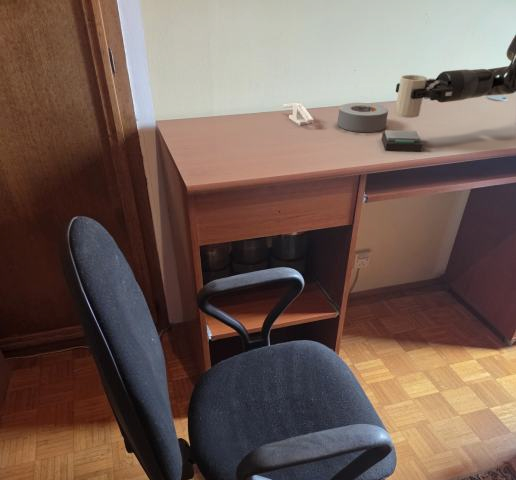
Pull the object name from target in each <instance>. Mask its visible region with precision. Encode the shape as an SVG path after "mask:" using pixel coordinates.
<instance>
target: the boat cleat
mask: <svg viewBox="0 0 516 480" xmlns="http://www.w3.org/2000/svg"><path fill="white" fill-rule="evenodd" d="M291 107H292V114H289V115H288V118H289V119H290V120H292V121H293V122H295V123H296V124H297V125H299V126H304V125H311V124H312V123H314V121H315V119H314V118H313V116H312V115H311V114H310V113H309V111H308V110H307V108H306V106H304V104H303V103H302V102H293V103H284V104H283V105H282V108H291Z"/></svg>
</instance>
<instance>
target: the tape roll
mask: <svg viewBox="0 0 516 480" xmlns="http://www.w3.org/2000/svg"><path fill="white" fill-rule="evenodd" d="M388 113H389V109H388V108H387V107H385V106H383V105H380V104H375V103H371V102H370V103H369V102H350V103H345V104H341V105H340V106H339V107H338V116H337V126H338V127H339V128H341V129H342V130H346V131H349V132H356V133H376V132H380V131H383V130H385V129H386V125H387V124H386V123H387V120H388V115H389V114H388Z"/></svg>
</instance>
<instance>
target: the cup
mask: <svg viewBox="0 0 516 480" xmlns="http://www.w3.org/2000/svg"><path fill="white" fill-rule="evenodd" d="M427 79H428V77H426V76H424V75H418V74H406V75H401V77H400V81H399V83H400V85H399V91H398V93H397V96H396V102H395V108H394V115H395V116H396V117H400V118H406V119H413V118H417V117H419V116H420V113H421V109H422V104H423V100H424V98H419V99H411V92H412V90H413V89H421V88H425V86H426V81H427Z"/></svg>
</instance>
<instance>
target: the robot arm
mask: <svg viewBox="0 0 516 480" xmlns="http://www.w3.org/2000/svg"><path fill="white" fill-rule="evenodd" d="M505 55H506V58H507V59H508V60H509V61H510V64H509V65H508V66H501V67H494V68H493V67H492V68H478V69H477V68H475V69H454V70H444V71H442V72H440V73H439V74H438V75H437V77H436V78H427V81H426V86H425V88H421V89H413V90H412V92H411V99H419V98H423V100H424V99H425V100H430V101H436V102H439V103H451V102H458V101H464V100H469V99H475V98H481V97H489V96H503V95H511V94H514V93H516V34H515V35H514V36H513V37H512V40H511V42H510V43H509V45H508V48H507V50H506V53H505ZM399 85H400V82H398V83H396V87H395V93H397V94H398V91H399Z"/></svg>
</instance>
